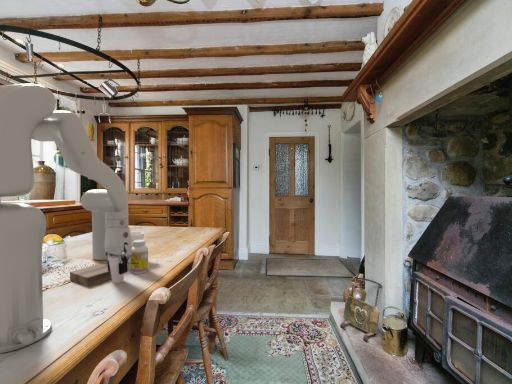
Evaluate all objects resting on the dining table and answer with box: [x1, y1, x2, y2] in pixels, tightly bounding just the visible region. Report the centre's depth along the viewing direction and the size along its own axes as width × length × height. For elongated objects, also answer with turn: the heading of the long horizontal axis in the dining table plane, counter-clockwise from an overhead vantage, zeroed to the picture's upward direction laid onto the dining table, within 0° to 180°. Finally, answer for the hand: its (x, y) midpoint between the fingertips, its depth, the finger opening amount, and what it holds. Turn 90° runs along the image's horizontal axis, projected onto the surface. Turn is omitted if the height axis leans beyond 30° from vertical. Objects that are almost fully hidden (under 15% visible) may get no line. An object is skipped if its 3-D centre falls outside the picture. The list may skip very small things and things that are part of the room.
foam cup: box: [128, 231, 145, 264], centre depth 121 cm, size 10×9×13 cm
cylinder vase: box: [91, 211, 108, 261], centre depth 128 cm, size 12×12×25 cm
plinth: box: [69, 263, 112, 287], centre depth 100 cm, size 12×12×3 cm
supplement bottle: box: [130, 239, 149, 275], centre depth 107 cm, size 7×7×13 cm
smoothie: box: [107, 254, 125, 284], centre depth 96 cm, size 6×6×14 cm
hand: (117, 271), depth 96 cm, fingers closed on smoothie, 5 cm apart
